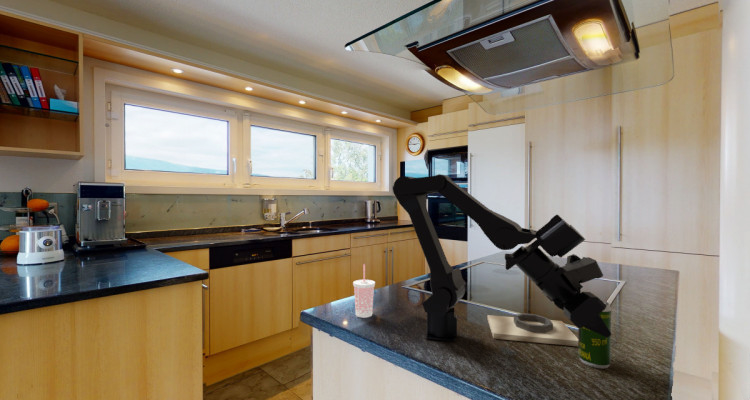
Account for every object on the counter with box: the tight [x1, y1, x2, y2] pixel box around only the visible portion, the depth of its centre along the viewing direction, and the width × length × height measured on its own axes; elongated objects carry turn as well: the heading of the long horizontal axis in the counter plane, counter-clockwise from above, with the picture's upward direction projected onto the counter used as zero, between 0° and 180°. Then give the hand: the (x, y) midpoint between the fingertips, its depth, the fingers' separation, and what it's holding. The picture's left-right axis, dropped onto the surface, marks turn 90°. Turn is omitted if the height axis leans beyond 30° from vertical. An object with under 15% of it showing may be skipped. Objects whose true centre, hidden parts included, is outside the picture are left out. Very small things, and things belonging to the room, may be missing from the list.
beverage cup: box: [352, 263, 376, 319], centre depth 90 cm, size 6×6×14 cm
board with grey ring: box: [487, 312, 578, 347], centre depth 79 cm, size 18×12×3 cm, turn 77°
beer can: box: [577, 299, 612, 369], centre depth 65 cm, size 5×5×12 cm
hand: (602, 329), depth 64 cm, fingers closed on beer can, 5 cm apart
